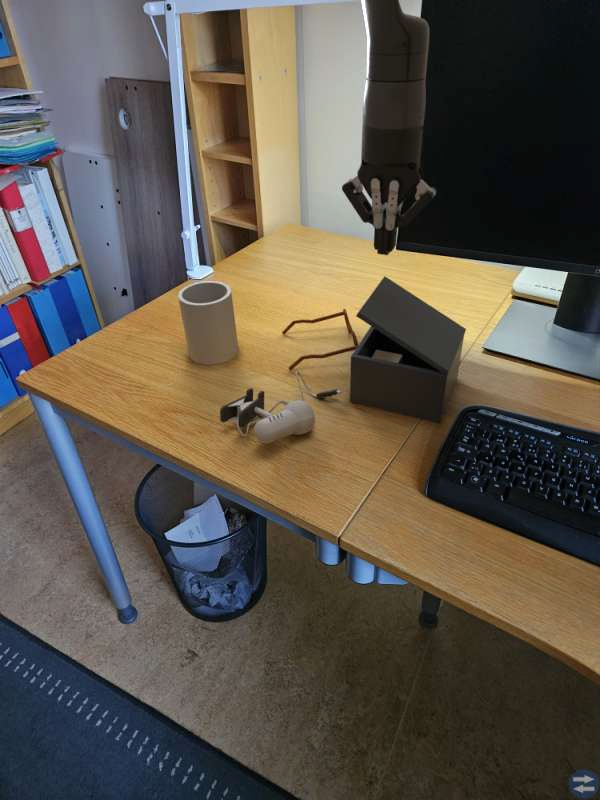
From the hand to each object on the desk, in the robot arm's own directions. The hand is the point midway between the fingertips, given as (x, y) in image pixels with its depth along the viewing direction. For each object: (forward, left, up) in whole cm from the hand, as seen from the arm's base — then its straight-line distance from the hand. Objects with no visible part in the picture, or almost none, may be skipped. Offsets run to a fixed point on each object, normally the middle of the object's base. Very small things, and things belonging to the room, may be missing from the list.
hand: (384, 252), depth 80 cm
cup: (+31, +1, -23) cm, 39 cm away
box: (-5, 0, -23) cm, 24 cm away
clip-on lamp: (+10, +14, -23) cm, 29 cm away
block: (-1, 0, -22) cm, 22 cm away
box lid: (-5, 0, -11) cm, 12 cm away
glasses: (+13, -7, -23) cm, 28 cm away
